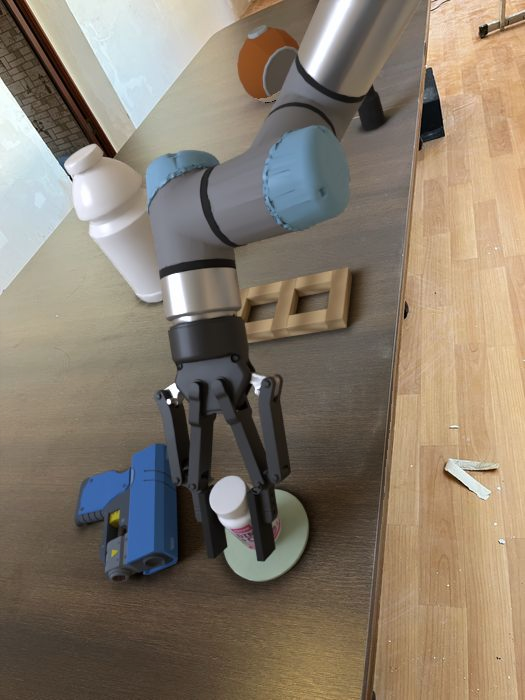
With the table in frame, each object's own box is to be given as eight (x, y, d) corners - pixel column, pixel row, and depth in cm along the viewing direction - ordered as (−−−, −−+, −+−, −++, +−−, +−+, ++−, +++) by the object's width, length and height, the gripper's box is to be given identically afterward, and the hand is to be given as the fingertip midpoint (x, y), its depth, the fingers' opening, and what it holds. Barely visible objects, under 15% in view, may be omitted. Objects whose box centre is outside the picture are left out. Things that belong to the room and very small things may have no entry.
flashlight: (388, 115, 107) (366, 120, 110) (357, -8, 92) (333, 1, 95) (381, 127, 105) (359, 132, 108) (349, 3, 89) (324, 12, 92)
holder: (352, 276, 76) (348, 266, 75) (346, 327, 69) (342, 318, 68) (241, 298, 84) (236, 290, 83) (226, 346, 77) (221, 338, 76)
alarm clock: (290, 73, 155) (268, 13, 143) (320, 76, 141) (299, 10, 130) (241, 106, 153) (216, 48, 141) (268, 112, 139) (242, 48, 128)
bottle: (127, 296, 102) (31, 178, 83) (172, 253, 106) (91, 132, 88) (165, 310, 92) (66, 180, 74) (212, 262, 97) (130, 128, 79)
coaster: (314, 489, 54) (313, 488, 54) (302, 585, 48) (300, 583, 48) (235, 491, 59) (234, 489, 58) (214, 578, 52) (213, 577, 52)
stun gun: (53, 596, 55) (162, 547, 52) (72, 479, 67) (162, 433, 64) (80, 606, 58) (185, 561, 55) (94, 491, 70) (181, 448, 66)
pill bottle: (255, 561, 51) (217, 528, 45) (234, 527, 54) (197, 493, 49) (290, 530, 51) (257, 494, 46) (268, 499, 55) (235, 462, 49)
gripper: (303, 304, 48) (339, 540, 48) (155, 331, 55) (187, 535, 55) (272, 303, 41) (315, 578, 41) (108, 334, 48) (145, 567, 49)
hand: (241, 553), depth 48 cm, fingers closed on pill bottle, 5 cm apart
